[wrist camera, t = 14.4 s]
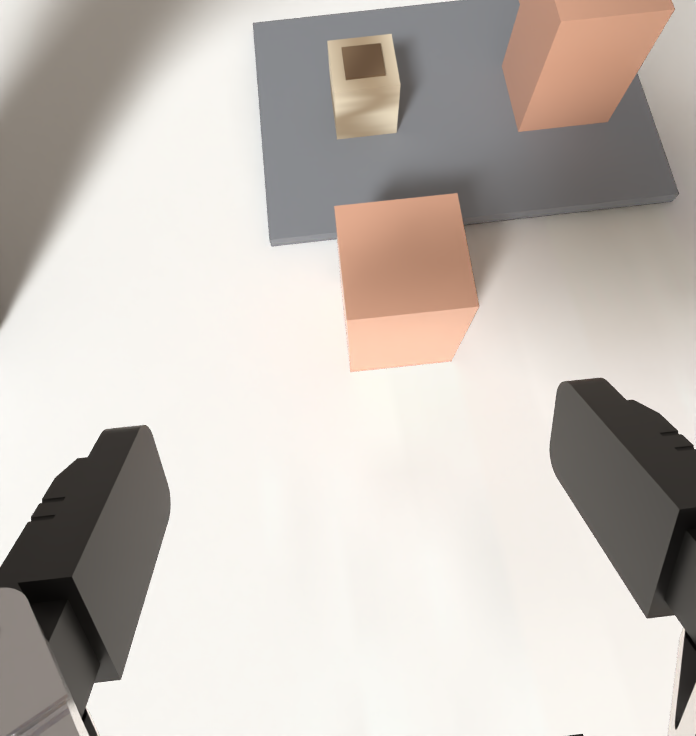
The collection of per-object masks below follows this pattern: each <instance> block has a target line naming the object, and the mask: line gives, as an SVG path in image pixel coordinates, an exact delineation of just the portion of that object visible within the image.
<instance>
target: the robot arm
mask: <svg viewBox="0 0 696 736" xmlns="http://www.w3.org/2000/svg"><path fill="white" fill-rule="evenodd" d="M693 446H694V445H693V444H692V443H690V442H689V441H688V440H687V439H686V438H685V437H684V436H683V435H682V434H680V435H679V434H678V430H677V429H676V428H674V427H673V426H672V425H671V424H670V423H669V422H668V421H667V420H666V419H665V418H664V417H663V416H662V415H661V414H660V413H658V412H656V411H654V410H652V409H650V408H648V407H646V406H644V405H642V404H640V403H638V402H637V401H635V400H626V399H625V398H624V397H623V396H622V395H621V394H620V393H619V392H618V391H617V390H616V389H615V388H614V387H613V386H612V385H611V384H610V383H609V382H608V381H606V380H605V379H603V378H593V379H583V380H574V381H565V382H562V383H561V384H560V385H559V387H558V389H557V394H556V401H555V409H554V417H553V424H552V432H551V439H550V459H551V464H552V467H553V470H554V473H555V475H556V477H557V479H558V480H559V482H560V483H561V485H562V486H563V488H564V489H565V491H566V493H567V494H568V496H569V497H570V499H571V500H572V502H573V504H574V505H575V507H576V508H577V510H578V511H579V513H580V515H581V516H582V518H583V519H584V521H585V522H586V524H587V525H588V527H589V529H590V530H591V532H592V533H593V535H594V536H595V538H596V540H597V541H598V543H599V544H600V546H601V547H602V549H603V551H604V552H605V554H606V555H607V557H608V558H609V560H610V562H611V563H612V565H613V566H614V568H615V569H616V571H617V572H618V574H619V576H620V577H621V579H622V580H623V582H624V583H625V585H626V587H627V588H628V590H629V591H630V593H631V594H632V596H633V598H634V599H635V601H636V602H637V604H638V605H639V607H640V608H641V610H642V612H643V613H644V615H645V616H646V618H655V617H663V616H672V615H675V616H676V617H677V619H678V620H679V621H680V623H681V624H682V626H683V629H682V632H681V635H680V639H679V645H678V653H677V661H676V669H675V678H674V686H673V694H672V703H671V711H670V719H669V728H668V736H696V449H694V447H693ZM169 516H170V492H169V487H168V483H167V480H166V477H165V474H164V470H163V467H162V464H161V461H160V457H159V454H158V451H157V448H156V445H155V441H154V438H153V435H152V432H151V430H150V429H149V427H148V426H146V425H140V426H131V427H121V428H112V429H105V430H104V431H103V432H102V433H101V435H100V436H99V438H98V440H97V442H96V443H95V445H94V447H93V449H92V451H91V452H90V454H89V456H88V457H86V458H77V459H76V460H75V461H74V462H73V463H72V464H71V465H69V466H68V467H67V468H66V469H65V470H64V471H62V472H61V473H60V474H59V475H58V476H57V477H56V478H55V479H54V481H53V482H52V484H51V485H50V487H49V489H48V490H47V492H46V494H45V495H44V497H43V498H42V503H40V504H39V505H38V507H37V508H36V510H35V512H34V513H33V515H32V516H31V522H28V523H27V525H26V526H25V528H24V529H23V531H22V533H21V534H20V536H19V538H18V539H17V541H16V542H15V544H14V546H13V547H12V549H11V551H10V552H9V554H8V556H7V557H6V559H5V560H4V562H3V564H2V565H1V567H0V736H100V735H99V732H98V730H97V728H96V726H95V723H94V721H93V719H92V717H91V714H90V712H89V711H88V709H87V707H86V705H87V702H88V699H89V696H90V693H91V690H92V687H93V684H94V683H97V682H106V681H114V680H121V677H122V674H123V671H124V667H125V664H126V661H127V657H128V654H129V651H130V647H131V644H132V641H133V637H134V634H135V631H136V627H137V624H138V620H139V617H140V614H141V610H142V607H143V604H144V600H145V597H146V594H147V590H148V587H149V584H150V580H151V577H152V574H153V570H154V567H155V564H156V560H157V557H158V554H159V550H160V547H161V544H162V540H163V537H164V534H165V530H166V527H167V524H168V520H169ZM570 736H583V734H578V735H570Z"/></svg>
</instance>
